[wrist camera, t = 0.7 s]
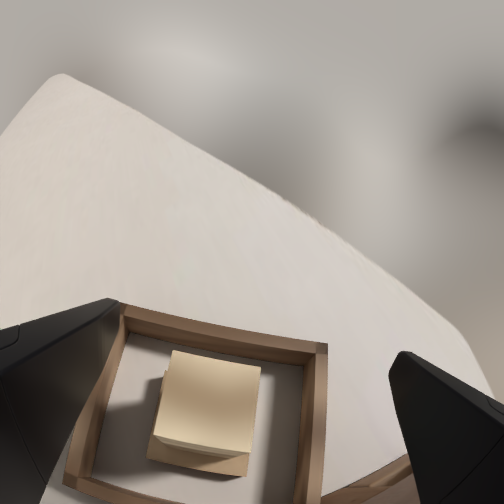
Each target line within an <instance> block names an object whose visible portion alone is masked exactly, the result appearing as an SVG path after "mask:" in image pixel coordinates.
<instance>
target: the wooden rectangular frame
mask: <svg viewBox="0 0 504 504" xmlns="http://www.w3.org/2000/svg"><path fill="white" fill-rule="evenodd" d="M129 332H132V333H136V334H140V335H144V336H147V337H151V338H155V339H159V340H164V341H168V342H172V343H176V344H181V345H185V346H190V347H194V348H199V349H204V350H209V351H213V352H219V353H224V354H229V355H234V356H240V357H246V358H251V359H257V360H263V361H270V362H276V363H283V364H290V365H298V366H304V368H303V388H302V404H301V419H300V433H299V445H298V457H297V467H296V478H295V487H294V496H293V504H320V501H321V490H322V479H323V466H324V452H325V435H326V413H327V377H328V343H320V342H313V341H306V340H300V339H293V338H287V337H281V336H275V335H269V334H263V333H257V332H252V331H246V330H241V329H236V328H231V327H225V326H220V325H215V324H211V323H206V322H201V321H196V320H192V319H187V318H183V317H178V316H174V315H169V314H165V313H161V312H157V311H153V310H149V309H144V308H140V307H137V306H133V305H129V304H125V303H121V302H120V326H119V331H118V334H117V336H116V339H115V341H114V344H113V346H112V349H111V351H110V354H109V356H108V359H107V362H106V364H105V367H104V369H103V371H102V373H101V375H100V377H99V379H98V381H97V383H96V385H95V387H94V388H93V390H92V392H91V394H90V396H89V398H88V400H87V402H86V404H85V406H84V408H83V410H82V412H81V414H80V416H79V418H78V420H77V422H76V425H75V428H74V432H73V436H72V440H71V445H70V449H69V453H68V458H67V462H66V467H65V472H64V477H63V482H62V484H64V485H66V486H68V487H71V488H73V489H75V490H78V491H80V492H83V493H85V494H88V495H90V496H93V497H96V498H99V499H101V500H104V501H107V502H110V503H113V504H184V503H179V502H174V501H169V500H165V499H161V498H156V497H152V496H149V495H145V494H141V493H138V492H134V491H131V490H127V489H124V488H121V487H118V486H115V485H112V484H109V483H106V482H103V481H100V480H97V479H94V478H92V477H91V473H92V468H93V463H94V458H95V454H96V449H97V445H98V441H99V436H100V432H101V428H102V424H103V420H104V416H105V412H106V409H107V405H108V401H109V398H110V394H111V390H112V387H113V383H114V380H115V376H116V373H117V370H118V366H119V363H120V360H121V356H122V353H123V350H124V347H125V344H126V341H127V337H128V334H129ZM167 372H168V371H166V370H165V373H164V377H163V381H162V385H161V389H160V394H159V398H158V402H157V407H156V411H155V416H154V420H153V425H152V429H151V434H150V439H149V444H148V448H147V453H146V458H148V459H152V460H156V461H160V462H164V463H168V464H172V465H177V466H182V467H186V468H192V469H197V470H202V471H208V472H214V473H221V474H228V475H235V476H244V477H246V475H247V467H248V460H249V453H248V454H245V455H241V456H238V457H234V458H231V459H230V458H223V457H217V456H211V455H205V454H200V453H194V452H189V451H185V450H180V449H175V448H171V447H167V446H165V445H164V444H163V443H162V442H161V441H160V440H159V439H158V438H157V437H155V436H154V435H153V434H154V429H155V424H156V420H157V415H158V411H159V406H160V402H161V397H162V393H163V389H164V384H165V380H166V376H167Z"/></svg>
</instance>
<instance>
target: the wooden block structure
mask: <svg viewBox="0 0 504 504" xmlns="http://www.w3.org/2000/svg"><path fill="white" fill-rule="evenodd" d="M320 504H420V500H419V495H418V491H417V487H416V483H415V479H414V475H413V471H412V467H411V463H410V460H409V456H408V453H407V454H405V455H404V456H402V457H401V458H399V459H397V460H396V461H394V462H392V463H390V464H389V465H387V466H385V467H383V468H381V469H380V470H378V471H376V472H374V473H372V474H370V475H368V476H366V477H365V478H363V479H361V480H359V481H357V482H355V483H352V484H350V485H349V486H348V488H342V489H340V490H337V491H335V492H333V493H331V494H328V495H326V496H324V497H321V501H320Z"/></svg>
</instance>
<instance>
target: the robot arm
mask: <svg viewBox="0 0 504 504" xmlns="http://www.w3.org/2000/svg"><path fill="white" fill-rule="evenodd" d="M119 326H120V302H119V301H117V300H114V299H110V298H105V299H101V300H98V301H95V302H92V303H88V304H85V305H82V306H78V307H75V308H72V309H69V310H65V311H62V312H59V313H55V314H52V315H49V316H46V317H42V318H39V319H36V320H32V321H29V322H26V323H22V324H20V326H19V325H16V326H12V327H9V328H6V329H2V330H0V504H39V503H40V501H41V498H42V496H43V493H44V491H45V489H46V485H47V484H48V481H49V479H50V477H51V474H52V472H53V470H54V468H55V466H56V463H57V461H58V459H59V457H60V455H61V453H62V450H63V448H64V446H65V444H66V442H67V440H68V438H69V436H70V434H71V432H72V430H73V428H74V426H75V424H76V422H77V420H78V418H79V416H80V414H81V412H82V410H83V408H84V406H85V404H86V402H87V400H88V398H89V396H90V394H91V392H92V390H93V388H94V387H95V385H96V383H97V381H98V379H99V377H100V375H101V373H102V371H103V369H104V367H105V364H106V362H107V359H108V356H109V354H110V351H111V349H112V346H113V344H114V341H115V339H116V336H117V334H118V331H119ZM388 376H389V382H390V386H391V391H392V396H393V401H394V406H395V410H396V414H397V418H398V421H399V425H400V428H401V431H402V435H403V438H404V442H405V445H406V449H407V452H408V456H409V460H410V463H411V467H412V471H413V475H414V479H415V483H416V487H417V491H418V495H419V500H420V504H504V405H503V404H501V403H500V402H498V401H496V400H494V399H492V398H491V397H489V396H487V395H485V394H484V393H482V392H480V391H478V390H477V389H475V388H473V387H471V386H470V385H468V384H466V383H464V382H463V381H461V380H459V379H457V378H456V377H454V376H452V375H450V374H449V373H447V372H445V371H443V370H442V369H440V368H438V367H436V366H435V365H433V364H431V363H429V362H428V361H426V360H424V359H423V358H421V357H419V356H417V355H416V354H414V353H412V352H408V351H401V352H399V353H398V355H397V357H396V359H395V361H394V362H393V364H392V366H391V368H390V370H389V375H388Z"/></svg>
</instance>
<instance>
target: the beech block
mask: <svg viewBox="0 0 504 504" xmlns="http://www.w3.org/2000/svg"><path fill="white" fill-rule="evenodd" d="M260 372H261V367H257V366H251V365H245V364H239V363H233V362H228V361H223V360H217V359H212V358H207V357H203V356H198V355H193V354H189V353H184V352H180V351H175V350H173V351H172V355H171V359H170V363H169V368H168V372H167V376H166V380H165V384H164V389H163V393H162V397H161V402H160V406H159V411H158V415H157V420H156V424H155V429H154V434H153V435H154V436H155V437H157V438H158V439H159V440H160V441H161V442H162V443H163V444H164V445H165V446H167V447H171V448H175V449H180V450H185V451H189V452H194V453H200V454H205V455H211V456H217V457H223V458H230V459H231V458H234V457H238V456H241V455H245V454H248V453H251V447H252V439H253V431H254V423H255V415H256V406H257V398H258V389H259V380H260Z"/></svg>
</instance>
